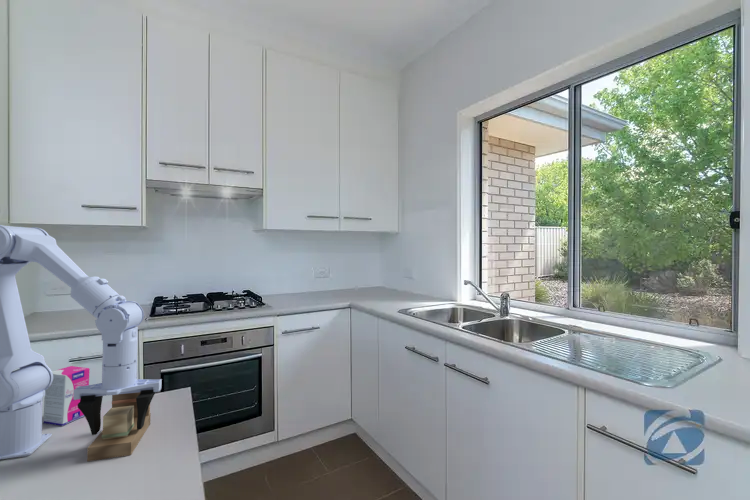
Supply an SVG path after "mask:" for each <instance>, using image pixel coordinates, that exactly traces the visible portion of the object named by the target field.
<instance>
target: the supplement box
mask: <svg viewBox="0 0 750 500" xmlns="http://www.w3.org/2000/svg"><path fill="white" fill-rule="evenodd" d="M90 369H91V368H89V367H83V366H76V365H75V366H74V365H70V366H66V367H63V368H58V369H57V370H52V373H53V381H52V384H51V385H50V387H49V388H48V389H46V390H45V396H44V397H43V399H44V402H43V416H42V424H45V425H50V426H51V425H52V426H57V427H64V426H66V425H68V424H70V423H72V422H75V421H77V420H79V419H82V418H84V417H85V416H84V414H83V413H82V412H81V410H80V409H79V408H78V403H79V402H80V400H81V399H77V400H74V390H75V389H76V388H77V387H79V386H87V385H90Z"/></svg>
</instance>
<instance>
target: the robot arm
mask: <svg viewBox="0 0 750 500" xmlns="http://www.w3.org/2000/svg"><path fill="white" fill-rule="evenodd" d="M30 263H37V264H39V265H40V266H42V268H44V269H45V270H47V271H48V272H50V273H51V274H52V275H53V276H54V277H56V278H57V279H58V280H60V281H62V282H63V283H64V284H65V285H67V286H68V287H69V288H70V293H69V294H70V297H71V298H72V299H73V300H74V301H75V302H76V303H78V304H79V305H80V306H81V307H82V308H83V309H84V310H86V311H87V312H88V313H89V314H91V315H92V316H93V317H94V318H95V320H94V321H95V327H96V328H97V330H98V331H99V333H100V334H101V341H102V360H101V362H102V365H101V368H102V369H101V370H102V371H101V382H100V383H92V384H89V385H87V386H79V387H77V388H76V389H75V390H74V400H77V399H81V400H80V402H79V403H78V408H79V409H80V410H81V412H82V413H83V414H84V417H85V419H86V422H87V424H88V427H89V430H90V433H91V436H96V435H97V434H98V433H99V432H100V431H101V428H102V427H101V425H102V421H101V420H102V418H101V416H102V415H101V414H102V413H101V411H102V403H103V397H105V396H106V397H107V396H112V395H117V394H127V393H137V392H140V394H139V395H138V396H137V398H136V402H137V412H138V417H137V430H139V429H142V427H143V426H144V421H145V417H146V413H147V410H148V407H149V405H150V406H151V402H152V400H153V399H154V396H155V394H156V392H157V393H158V392H160V391H161V390H162V380H163V379H162V378H160V379H158V378H157V379H145V378H143V379H142V378H140V379H139V378H137V377H138V376H137V374H138V330H139V327H138V326H140V325H141V324H142V323H143V320H144V317H145V311H144V309H143V308H142V306H141V305H140V304H139V302H137V301H135V300H127V298H126V296H124V295H120V294H119V293H118V292H117V291H116V290H115V289H113V288H112V287H111V286H110V285H109V284H108V283H109V281H108V279H106V278H100V276H97V275H94V276H89V275H88V274H86V272H84V270H82V269H81V267H80V266H79V265H78V264H77V263H75V262H74V260H73V259H72V258H70V256H68V254H67V253H66V252H64V250H63V249H62V248H61V247H60V246H58V243H57V239H56V238H54V237H53V236H52V235H49V233H48V232H47V231H46V230H45V229H43V228H40V227H35V226H32V227H27V226H25V227H24V226H15V225H14V226H12V225H3V224H0V460H4V459H5V460H6V459H12V458H20V457H28V456H31V455H32V454H33V453H34V452H35V451H36V450H38V448H39V447H41V445H43V444H44V443H45V442H47V440H49V439H50V438H51V437H52V435H53V434H52V432H51V433H50V432H49V433H43V429H42V428H43V404H44V402H43V399H44V397H45V390H46V389H48V388H49V387H50V385H51V384H52V381H53V373H52V371H53V370H52V368H51V367H49V366H48V364H47V363H46V359H45V356H44V355H42V354H41V353H38V352H36V351H35V350H33V349H32V345H31V341H30V337H29V332H28V328H27V324H26V319H25V315H24V311H23V306H22V302H21V297H20V292H19V289H18V288H19V287H18V284H17V280H16V279H17V278H16V275H17V274H18V273H19V272H20V271H21V270H22V269H23V268H24V267H26V266H27V265H29V264H30Z"/></svg>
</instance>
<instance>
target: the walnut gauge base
mask: <svg viewBox="0 0 750 500" xmlns="http://www.w3.org/2000/svg"><path fill="white" fill-rule="evenodd" d="M139 394H140V392H137V393H127V394H117V395H111V408H115V407H125V406H134V426H133V428H132V430H131V431H130V433H129V434H128V435H127V437H120V438H112V439H104V440H103V438H102V435H103V430H101V432H100V433H99V434H98V435H97V436H96V437H95V439H94V440H93V441H92V442H91V443H90V445H89V446H88V447H87V448H86V449H87V452H86V455H87V457H86V461H87V462H94V461H99V460H107V459H113V458H119V457H120V458H121V457H127V456H132V454H133V452H134V451H135V449H136V448H137V446H138V445H139V443H140V441H142V440H141V439H142V438H143V436H144V435H145V434H146V431H147V430H148V428H149V427H150V425H151V415H152V413H151V404H150V405H149V407H148V410H147V413H146V417H145V421H144V426H143V427H142V429H139V430H137V417H138V412H137V402H136V398H137V396H138V395H139Z"/></svg>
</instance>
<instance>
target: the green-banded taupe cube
mask: <svg viewBox="0 0 750 500" xmlns="http://www.w3.org/2000/svg"><path fill="white" fill-rule="evenodd" d="M133 426H134V406H125V407H115V408H112V407H111V408H110V409H109V410H108V411H107V412H106V413H105V414H104V415H103V416H102V431H103V435H102V438H103V440H104V439H112V438H120V437H127V435H128V434H129V433H130V431H131V430H132V428H133Z"/></svg>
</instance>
